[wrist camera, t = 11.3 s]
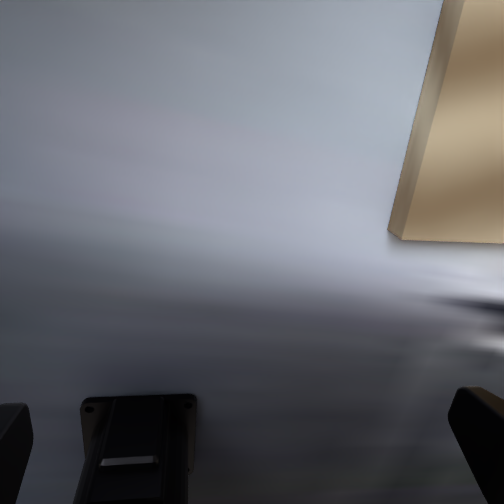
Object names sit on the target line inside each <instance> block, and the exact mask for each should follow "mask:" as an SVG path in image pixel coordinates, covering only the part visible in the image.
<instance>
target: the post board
mask: <svg viewBox="0 0 504 504" xmlns="http://www.w3.org/2000/svg"><path fill="white" fill-rule="evenodd" d="M387 230H389V231H390V232H392V233H393V234H394V235H396V236H397V237H398V238H400V239H401V240H421V241H449V242H476V243H503V244H504V0H444V2H443V6H442V10H441V14H440V18H439V22H438V26H437V30H436V34H435V38H434V42H433V46H432V51H431V55H430V59H429V63H428V67H427V71H426V75H425V79H424V83H423V87H422V91H421V95H420V99H419V103H418V107H417V111H416V116H415V120H414V124H413V128H412V132H411V136H410V140H409V144H408V148H407V152H406V156H405V160H404V164H403V168H402V172H401V176H400V181H399V185H398V189H397V193H396V197H395V201H394V205H393V209H392V213H391V217H390V221H389V225H388V229H387Z"/></svg>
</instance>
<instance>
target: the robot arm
mask: <svg viewBox="0 0 504 504" xmlns="http://www.w3.org/2000/svg"><path fill="white" fill-rule="evenodd" d="M187 402H190V403H189V404H186V403H187ZM88 406H91V407H92V408H90V407H88ZM196 406H197V403H196V397H195V396H194V395H192V394H176V395H148V396H120V397H93V398H86V399H85V400H84V401H83V402H82V404H81V407H80V415H81V424H82V433H83V442H84V452H85V462H84V466H83V469H82V473H81V476H80V480H79V483H78V487H77V490H76V494H75V497H74V501H73V504H188V475H189V474H191V473H192V472H193V468H194V447H195V427H196ZM448 421H449V424H450V427H451V429H452V431H453V433H454V435H455V437H456V439H457V441H458V443H459V446H460V448H461V450H462V452H463V454H464V456H465V458H466V460H467V462H468V464H469V467H470V469H471V471H472V473H473V475H474V477H475V479H476V481H477V483H478V485H479V487H480V489H481V491H482V493H483V495H484V497H485V499H486V501H487V502H488V504H504V400H503V399H501V398H499V397H498V396H496V395H494V394H492V393H490V392H489V391H487V390H485V389H483V388H481V387H479V386H462V387H460V388H458V389H457V391H456V394H455V396H454V399H453V401H452V404H451V407H450V409H449V412H448ZM32 445H33V430H32V424H31V419H30V413H29V408H28V406H27V404H25V403H5V404H1V405H0V504H15V503H16V500H17V496H18V493H19V490H20V486H21V483H22V480H23V476H24V473H25V470H26V466H27V463H28V459H29V456H30V453H31V449H32Z"/></svg>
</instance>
